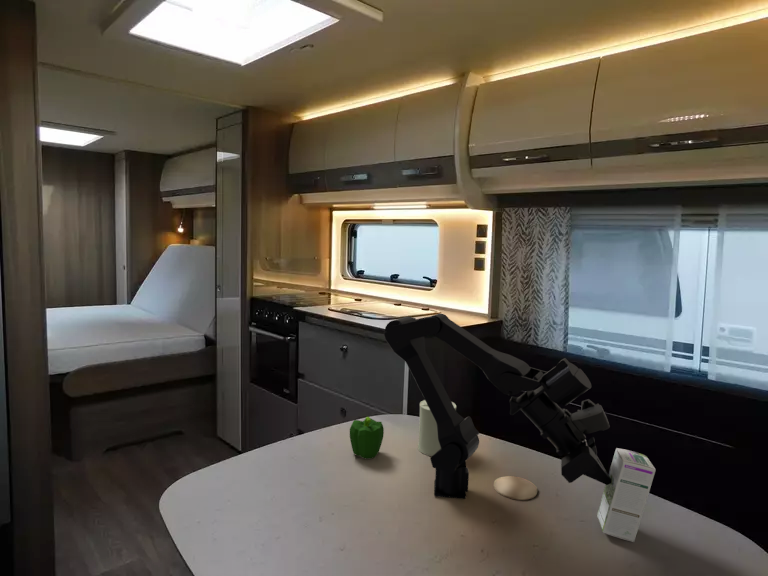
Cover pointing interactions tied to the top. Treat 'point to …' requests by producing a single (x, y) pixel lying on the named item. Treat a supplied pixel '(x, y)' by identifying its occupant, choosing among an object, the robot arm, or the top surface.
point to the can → (428, 431)
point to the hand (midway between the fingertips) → (609, 482)
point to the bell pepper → (366, 437)
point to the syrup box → (625, 494)
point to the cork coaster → (515, 488)
